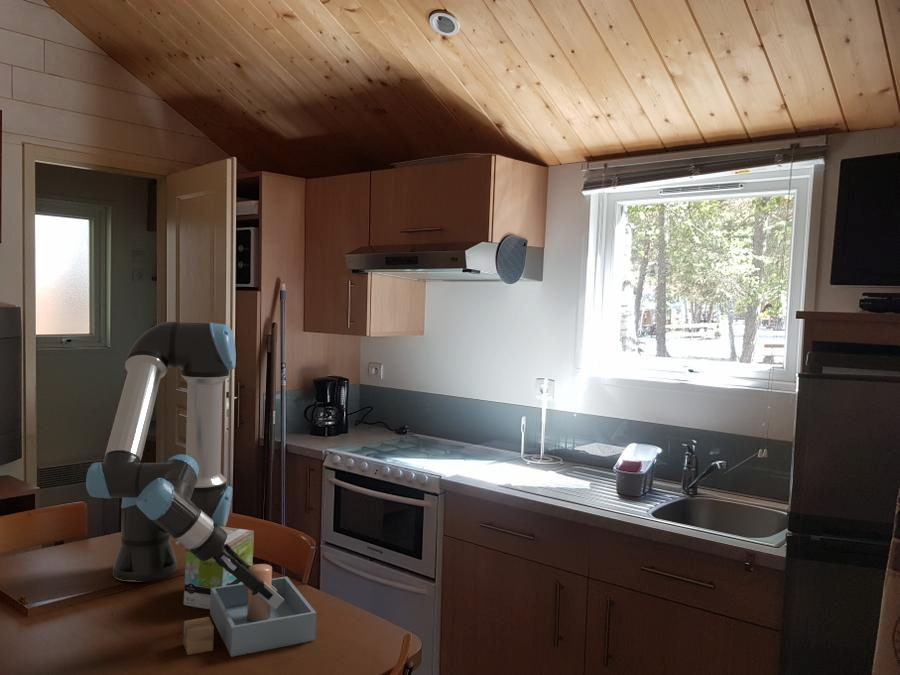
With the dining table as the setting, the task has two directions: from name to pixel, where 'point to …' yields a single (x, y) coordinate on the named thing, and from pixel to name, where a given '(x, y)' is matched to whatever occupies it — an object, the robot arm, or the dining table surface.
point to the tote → (281, 629)
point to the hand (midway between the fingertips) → (275, 599)
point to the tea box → (214, 569)
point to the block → (198, 635)
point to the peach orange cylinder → (256, 604)
